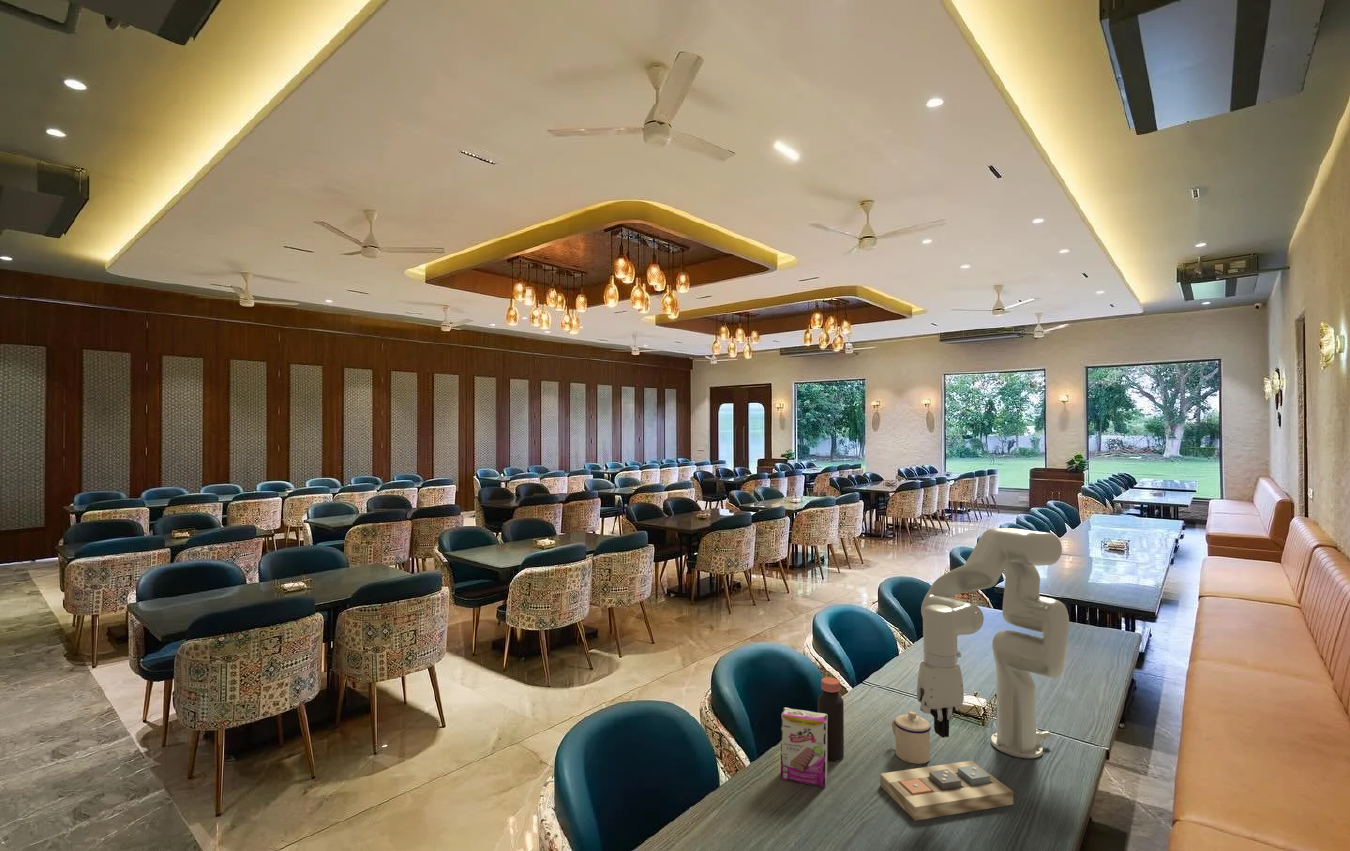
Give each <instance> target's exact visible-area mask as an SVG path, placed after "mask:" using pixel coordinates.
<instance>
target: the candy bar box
mask: <svg viewBox="0 0 1350 851" xmlns="http://www.w3.org/2000/svg"><path fill="white" fill-rule="evenodd" d="M780 716H781V717H780V721H781V722H780V727H781V728H780V739H781V740H780V780H782V781H783V780H784V781H789V782H794V783H799V784H805V785H808V786H809V785H810V786H816V787H820V788H826V784H827V779H828V760H827V725H828V715H827V714H824V713H818V711H817V712H816V711H810V710H804V709H797V708H791V707H783V711H782V712H781V715H780Z"/></svg>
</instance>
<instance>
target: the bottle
mask: <svg viewBox="0 0 1350 851" xmlns="http://www.w3.org/2000/svg"><path fill="white" fill-rule="evenodd" d="M820 680H821V681H820V686H821V687H820V688H821V692H822V693H821V694H820V695H818V698H817V713H824V714H827V715H828V725H827V762H838V761H841V760H843V758H844V756H845V752H844V751H845V743H844V742H845V741H844V739H845V738H844V734H845V730H844V729H845V726H844V724H845V722H844V720H845V718H844V714H845V713H844V712H845V710H844V706H845V705H844V699H843V698H842V696H841V695H840V692H841V681H840V680H839V679H838V678H835V677H832V676H831V677H829V676H828V677H827V676H826V677H823V678H821V679H820Z"/></svg>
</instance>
